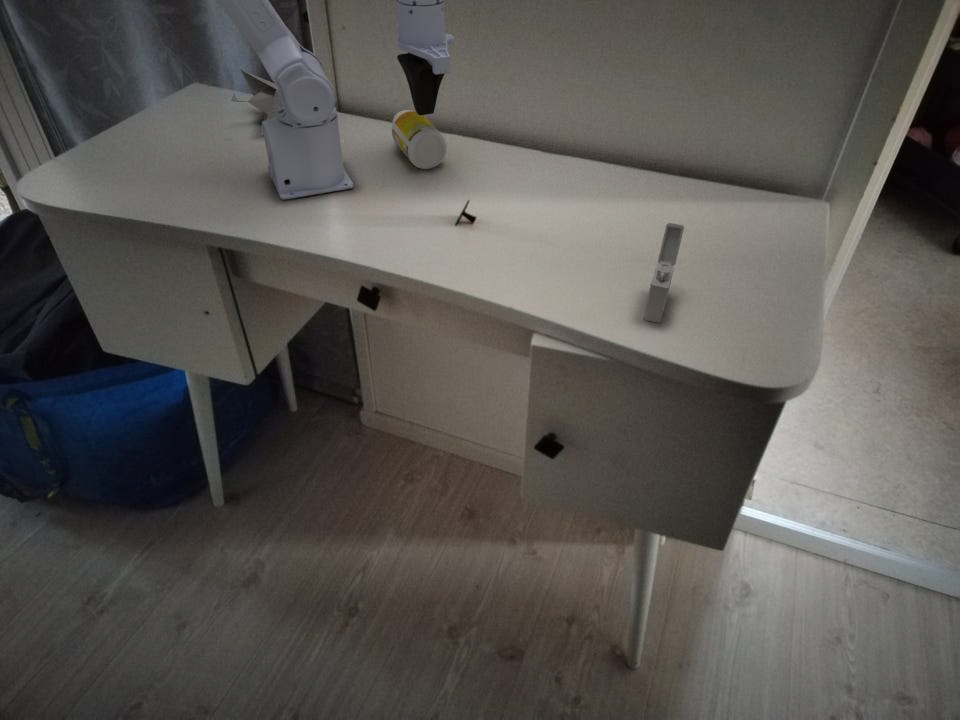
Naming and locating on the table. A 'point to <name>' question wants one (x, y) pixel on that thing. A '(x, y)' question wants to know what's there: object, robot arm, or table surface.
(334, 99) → the robot arm
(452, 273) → the table surface
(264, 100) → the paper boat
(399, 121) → the supplement bottle
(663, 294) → the lighter
